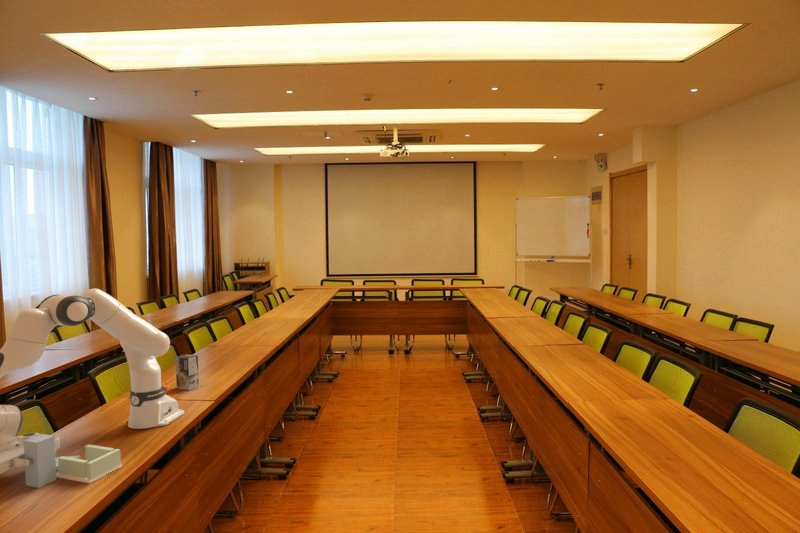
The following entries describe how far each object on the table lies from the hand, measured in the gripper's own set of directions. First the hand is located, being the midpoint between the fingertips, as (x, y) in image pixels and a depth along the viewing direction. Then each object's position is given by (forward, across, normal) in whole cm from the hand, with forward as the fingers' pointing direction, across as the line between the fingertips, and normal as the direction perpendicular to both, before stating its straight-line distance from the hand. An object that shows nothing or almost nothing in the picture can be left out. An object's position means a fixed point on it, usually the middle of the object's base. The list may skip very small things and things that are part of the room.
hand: (42, 457), depth 156 cm
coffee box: (-28, +95, +8) cm, 99 cm away
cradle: (+7, +10, +8) cm, 15 cm away
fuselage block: (-1, 0, +8) cm, 8 cm away
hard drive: (-9, +10, +9) cm, 16 cm away
